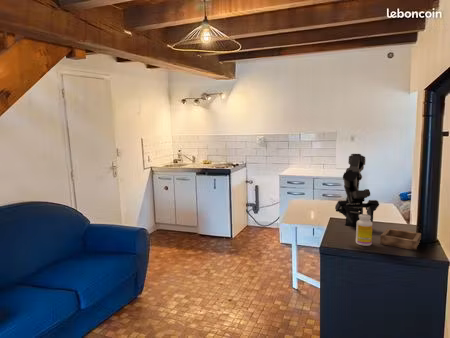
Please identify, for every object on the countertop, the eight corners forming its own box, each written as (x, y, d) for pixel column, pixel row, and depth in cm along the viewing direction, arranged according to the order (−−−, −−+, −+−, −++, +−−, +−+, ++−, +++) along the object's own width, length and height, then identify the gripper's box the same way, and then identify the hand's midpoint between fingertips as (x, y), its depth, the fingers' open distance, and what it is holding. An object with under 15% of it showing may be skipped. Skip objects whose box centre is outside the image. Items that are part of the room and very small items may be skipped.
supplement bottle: (374, 246, 152) (375, 217, 150) (358, 246, 152) (360, 217, 151) (368, 241, 159) (369, 213, 157) (353, 241, 159) (354, 213, 157)
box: (380, 243, 155) (380, 235, 155) (387, 236, 166) (387, 228, 166) (415, 250, 147) (416, 241, 146) (420, 241, 158) (421, 233, 158)
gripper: (338, 183, 159) (347, 212, 149) (378, 182, 160) (389, 212, 151) (331, 196, 168) (339, 225, 158) (369, 196, 169) (379, 225, 159)
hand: (362, 221), depth 156 cm, fingers open, 9 cm apart
